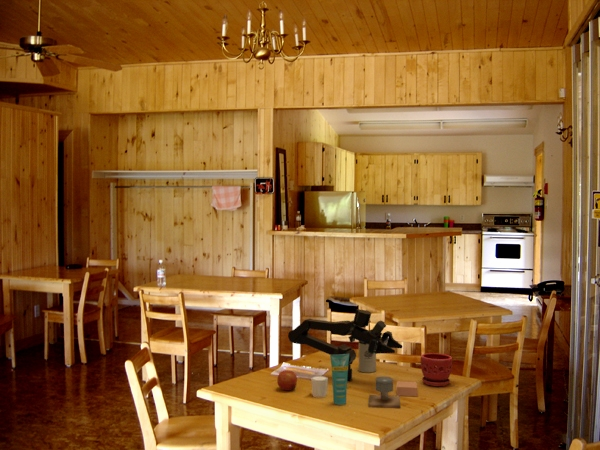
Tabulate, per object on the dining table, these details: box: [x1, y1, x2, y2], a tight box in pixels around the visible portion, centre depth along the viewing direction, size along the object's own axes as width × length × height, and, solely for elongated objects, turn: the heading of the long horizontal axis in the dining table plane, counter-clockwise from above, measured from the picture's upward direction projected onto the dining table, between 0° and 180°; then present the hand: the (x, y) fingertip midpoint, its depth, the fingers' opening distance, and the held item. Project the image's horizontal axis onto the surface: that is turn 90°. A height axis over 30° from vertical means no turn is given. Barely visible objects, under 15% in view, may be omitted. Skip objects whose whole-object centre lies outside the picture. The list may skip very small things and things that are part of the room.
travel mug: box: [358, 341, 377, 373], centre depth 278 cm, size 8×8×18 cm
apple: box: [277, 369, 298, 391], centre depth 251 cm, size 8×8×8 cm
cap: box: [375, 376, 394, 393], centre depth 233 cm, size 7×7×4 cm
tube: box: [329, 354, 349, 406], centre depth 232 cm, size 7×5×19 cm, turn 103°
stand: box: [396, 380, 418, 397], centre depth 245 cm, size 8×8×4 cm
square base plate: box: [368, 392, 401, 409], centre depth 233 cm, size 12×12×8 cm
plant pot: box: [420, 352, 453, 387], centre depth 257 cm, size 13×13×12 cm
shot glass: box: [310, 375, 329, 398], centre depth 243 cm, size 7×7×7 cm
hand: (398, 349), depth 252 cm, fingers open, 9 cm apart
